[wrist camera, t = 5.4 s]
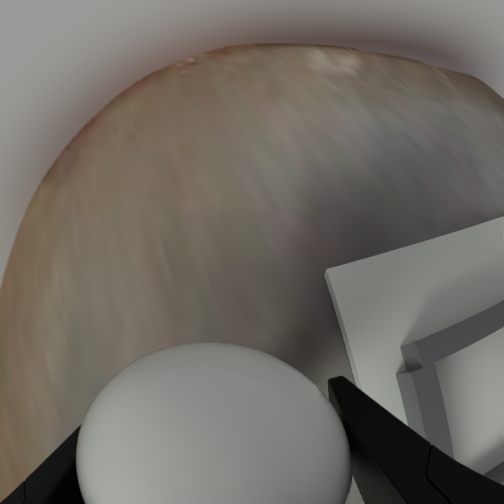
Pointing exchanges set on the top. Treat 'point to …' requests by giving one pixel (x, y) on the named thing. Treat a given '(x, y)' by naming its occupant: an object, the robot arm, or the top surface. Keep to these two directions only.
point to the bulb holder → (433, 339)
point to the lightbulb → (212, 432)
